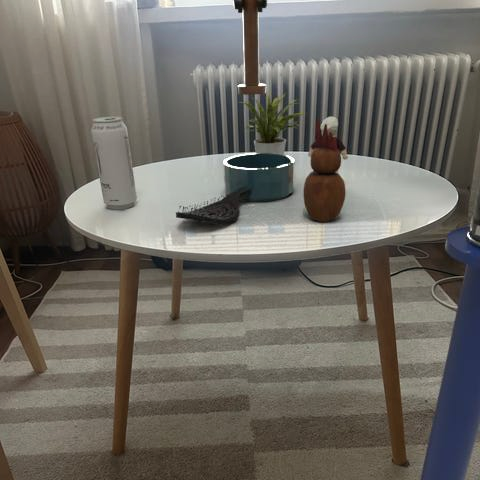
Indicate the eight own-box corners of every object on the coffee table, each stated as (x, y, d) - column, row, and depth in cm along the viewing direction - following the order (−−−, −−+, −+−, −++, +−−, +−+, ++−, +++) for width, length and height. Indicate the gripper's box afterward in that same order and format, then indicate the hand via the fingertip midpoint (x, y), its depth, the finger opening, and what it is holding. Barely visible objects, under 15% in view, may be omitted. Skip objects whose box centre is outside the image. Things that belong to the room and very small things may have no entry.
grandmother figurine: (345, 182, 99) (350, 114, 93) (345, 187, 96) (351, 118, 90) (307, 181, 101) (309, 115, 94) (306, 186, 97) (308, 118, 91)
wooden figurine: (297, 215, 83) (299, 119, 75) (327, 210, 85) (332, 116, 77) (317, 227, 77) (322, 126, 70) (348, 221, 79) (357, 122, 71)
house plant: (258, 182, 101) (257, 96, 93) (223, 170, 112) (219, 91, 103) (312, 171, 108) (315, 89, 100) (274, 160, 118) (274, 85, 110)
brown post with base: (270, 91, 82) (270, -25, 74) (258, 95, 79) (256, -27, 71) (246, 91, 84) (243, -23, 76) (233, 94, 81) (229, -24, 73)
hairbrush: (281, 179, 92) (206, 210, 73) (281, 198, 93) (208, 235, 74) (243, 175, 95) (162, 204, 76) (243, 194, 97) (164, 227, 78)
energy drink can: (102, 203, 93) (87, 118, 85) (134, 198, 94) (122, 115, 87) (107, 212, 88) (91, 122, 80) (140, 207, 89) (128, 119, 82)
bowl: (303, 187, 97) (304, 155, 94) (275, 206, 87) (275, 171, 84) (245, 180, 103) (244, 151, 100) (212, 198, 93) (210, 165, 90)
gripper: (204, -104, 75) (200, -13, 71) (296, -109, 74) (298, -17, 70) (210, -56, 82) (207, 30, 78) (294, -60, 81) (295, 26, 77)
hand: (250, 7), depth 74 cm, fingers closed on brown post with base, 2 cm apart
